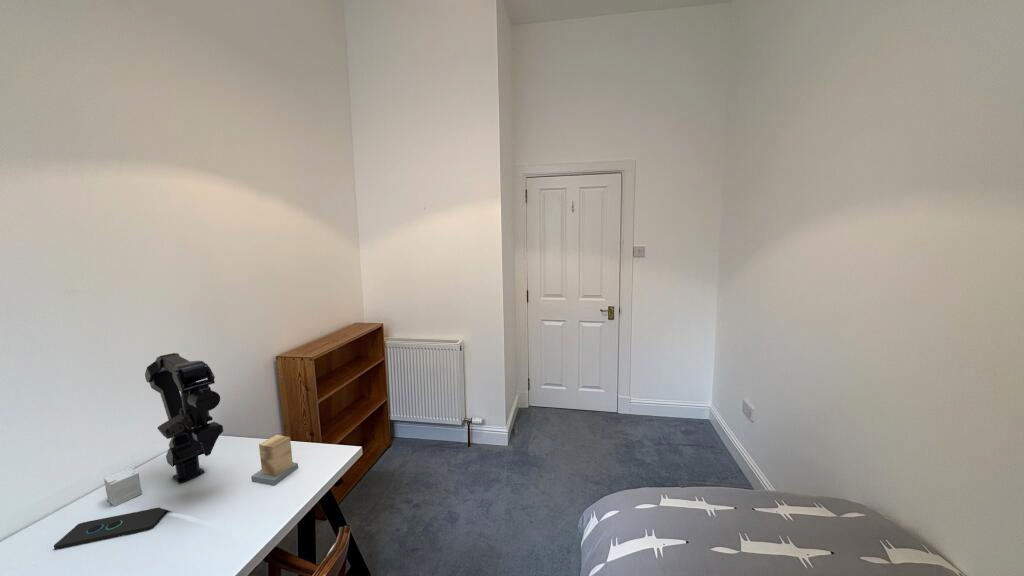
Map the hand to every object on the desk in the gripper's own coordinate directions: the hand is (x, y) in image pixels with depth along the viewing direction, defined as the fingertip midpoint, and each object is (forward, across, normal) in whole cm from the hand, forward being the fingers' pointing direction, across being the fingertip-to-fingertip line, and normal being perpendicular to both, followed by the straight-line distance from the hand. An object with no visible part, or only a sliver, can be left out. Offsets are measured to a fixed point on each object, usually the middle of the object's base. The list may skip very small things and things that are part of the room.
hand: (201, 451), depth 109 cm
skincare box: (+13, -18, -14) cm, 26 cm away
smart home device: (+14, -3, -19) cm, 23 cm away
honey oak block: (+10, +14, +14) cm, 22 cm away
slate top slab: (+12, +14, +14) cm, 23 cm away
